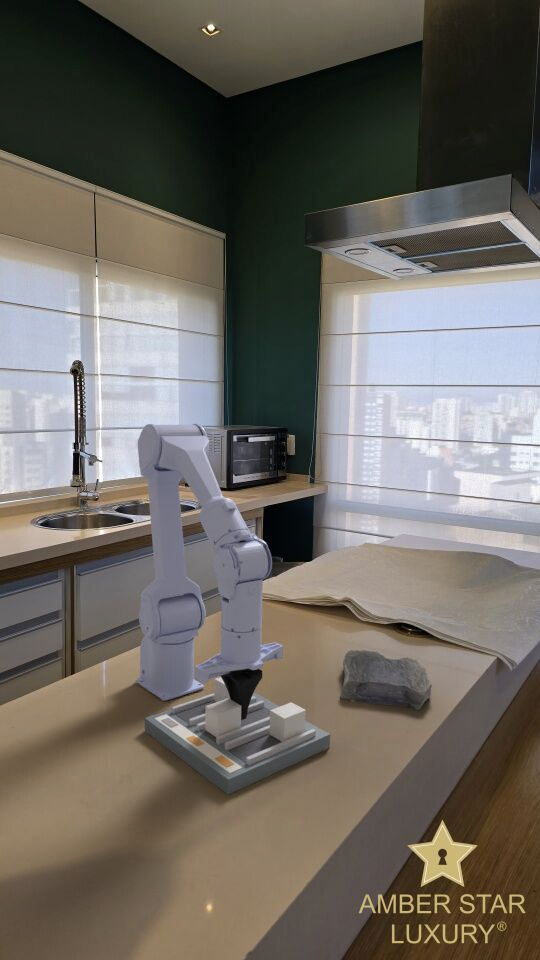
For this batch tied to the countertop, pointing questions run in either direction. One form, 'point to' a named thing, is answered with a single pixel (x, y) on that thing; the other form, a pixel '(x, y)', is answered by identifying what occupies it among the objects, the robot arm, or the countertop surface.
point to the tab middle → (222, 717)
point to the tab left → (220, 690)
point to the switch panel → (233, 743)
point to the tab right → (287, 721)
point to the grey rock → (384, 680)
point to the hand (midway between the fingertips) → (239, 716)
